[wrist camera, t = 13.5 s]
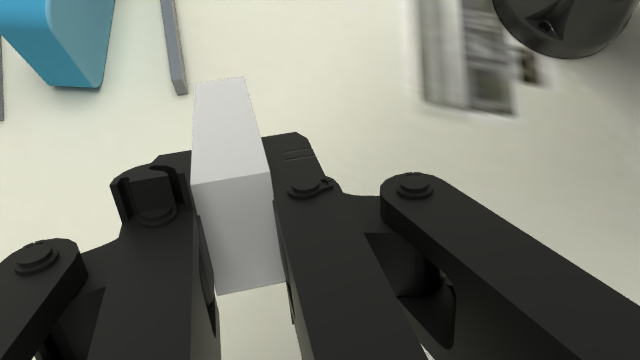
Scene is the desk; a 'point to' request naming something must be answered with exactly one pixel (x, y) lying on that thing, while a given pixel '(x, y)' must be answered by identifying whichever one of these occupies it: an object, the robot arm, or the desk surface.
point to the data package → (60, 38)
